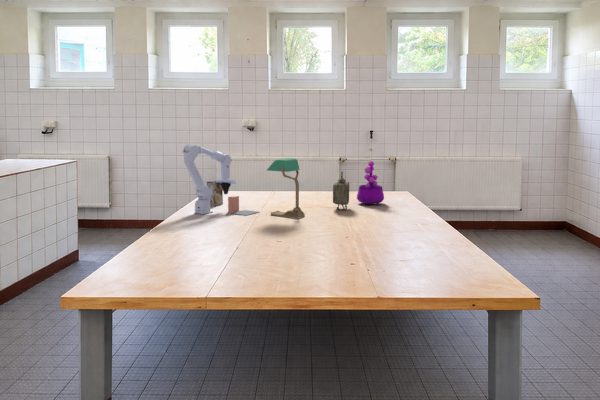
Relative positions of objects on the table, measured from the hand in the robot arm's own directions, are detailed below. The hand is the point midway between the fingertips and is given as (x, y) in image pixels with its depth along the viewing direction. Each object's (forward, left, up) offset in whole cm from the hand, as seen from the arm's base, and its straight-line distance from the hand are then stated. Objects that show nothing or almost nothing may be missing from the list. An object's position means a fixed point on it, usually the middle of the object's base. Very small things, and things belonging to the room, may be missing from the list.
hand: (225, 194), depth 368 cm
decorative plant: (+72, -71, -11) cm, 101 cm away
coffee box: (+13, +19, -11) cm, 26 cm away
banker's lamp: (+3, -45, -11) cm, 46 cm away
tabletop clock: (+42, -63, -11) cm, 76 cm away
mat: (-3, -18, -10) cm, 21 cm away
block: (-3, -9, -10) cm, 14 cm away
